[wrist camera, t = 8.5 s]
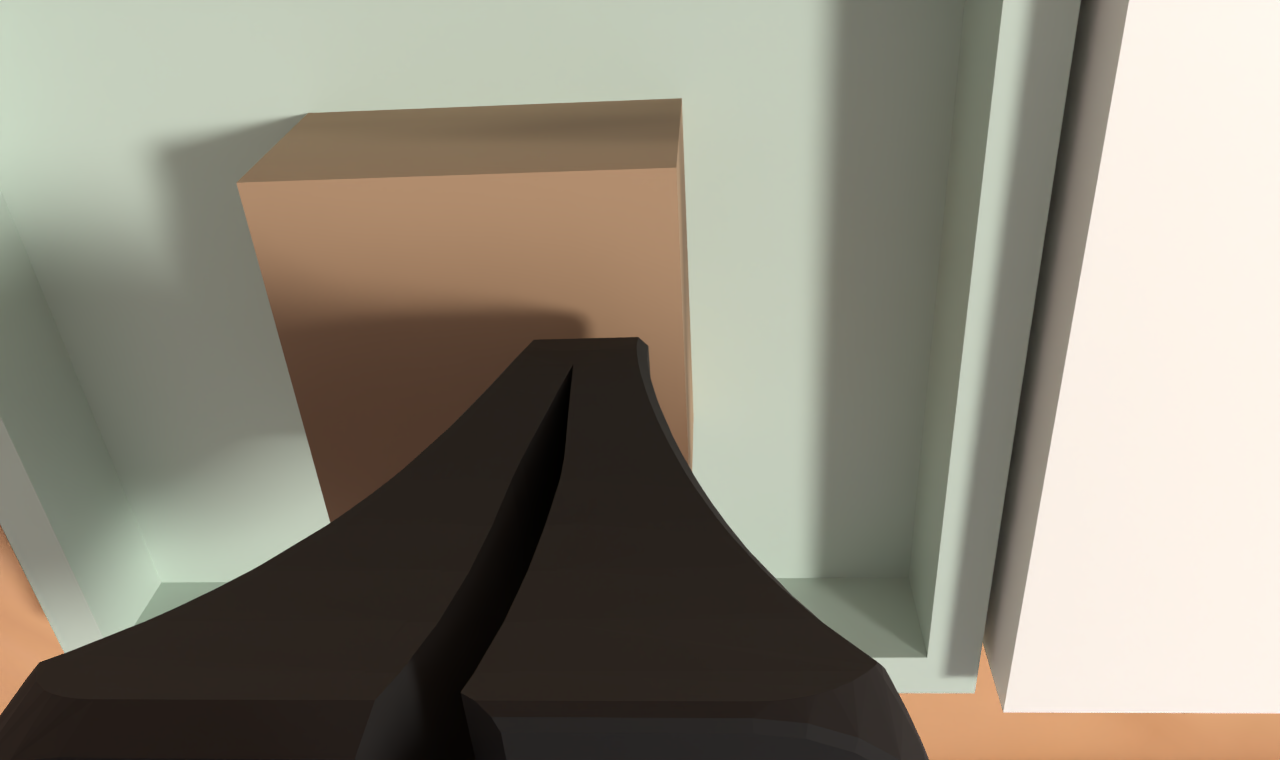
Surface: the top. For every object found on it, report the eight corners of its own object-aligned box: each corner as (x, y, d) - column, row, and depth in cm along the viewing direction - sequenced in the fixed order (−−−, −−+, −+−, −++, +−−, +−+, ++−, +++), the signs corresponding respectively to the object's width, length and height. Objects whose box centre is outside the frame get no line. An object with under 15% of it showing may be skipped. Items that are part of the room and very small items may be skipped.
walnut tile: (330, 523, 15) (378, 421, 17) (690, 520, 14) (694, 417, 16) (235, 182, 12) (307, 113, 14) (676, 167, 12) (681, 98, 14)
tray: (948, 594, 18) (975, 692, 17) (143, 599, 20) (83, 691, 18) (1056, -275, 12) (1123, -274, 10) (-191, -184, 13) (-345, -169, 11)
